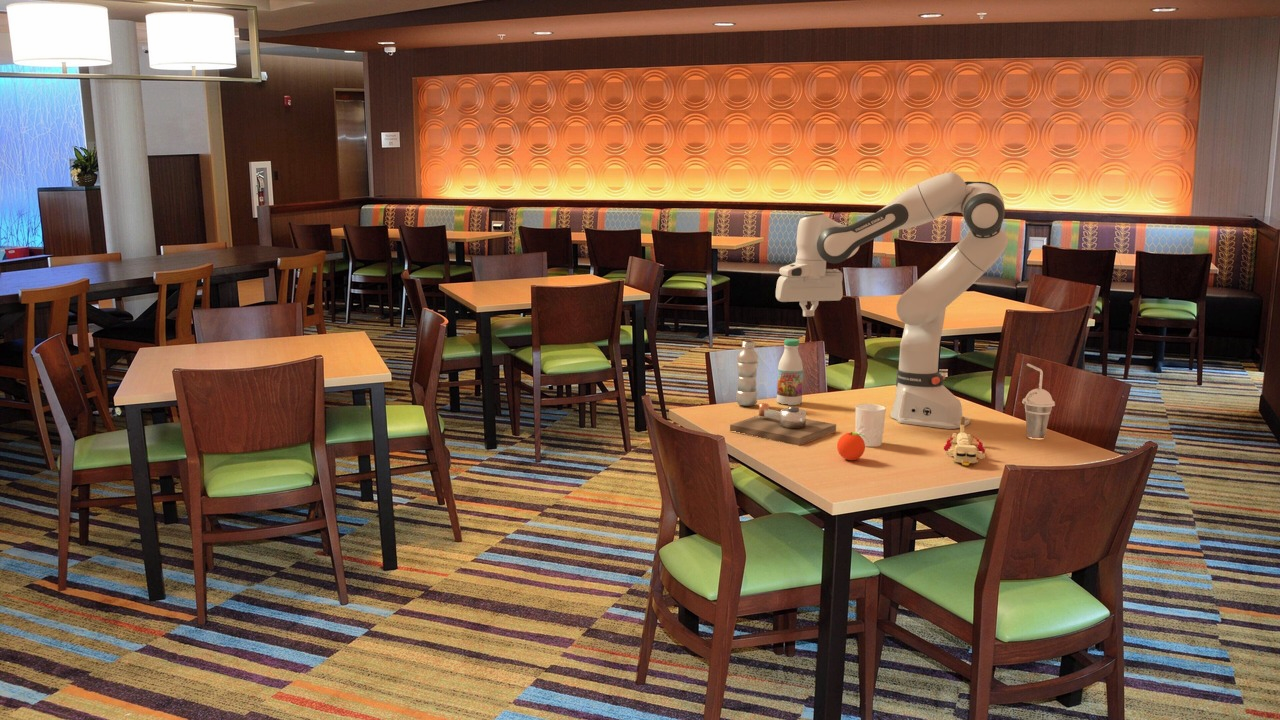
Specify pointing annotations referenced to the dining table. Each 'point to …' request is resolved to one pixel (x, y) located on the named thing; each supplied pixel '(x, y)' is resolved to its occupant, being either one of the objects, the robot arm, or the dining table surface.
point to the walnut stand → (783, 430)
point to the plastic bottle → (747, 375)
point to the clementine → (851, 446)
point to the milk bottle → (790, 374)
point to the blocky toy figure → (964, 447)
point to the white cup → (870, 423)
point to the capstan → (785, 415)
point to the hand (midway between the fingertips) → (808, 316)
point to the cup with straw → (1037, 409)
